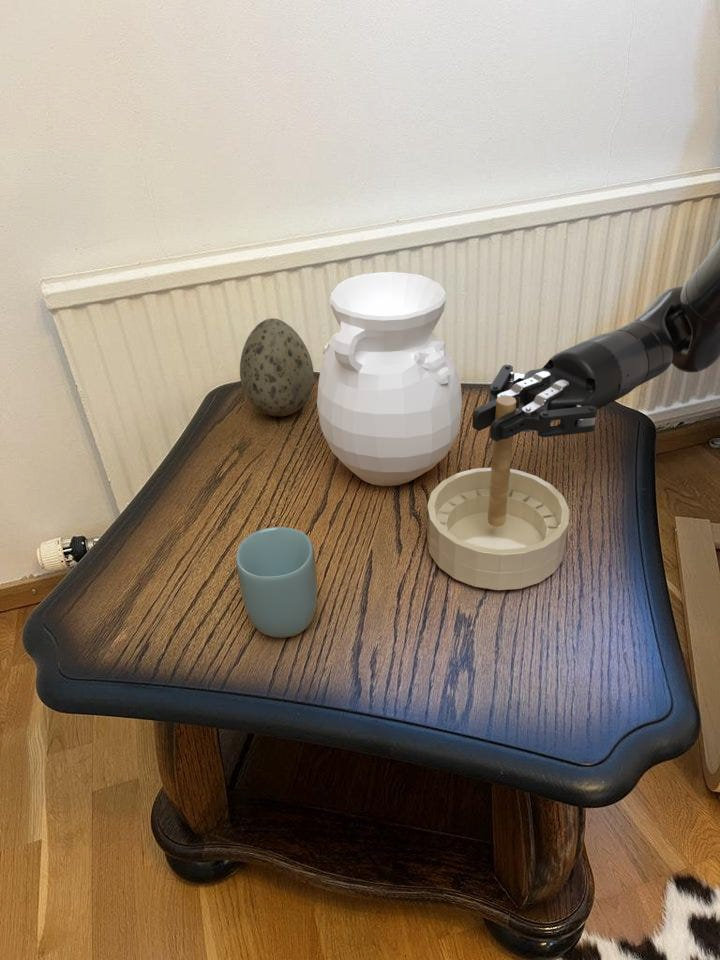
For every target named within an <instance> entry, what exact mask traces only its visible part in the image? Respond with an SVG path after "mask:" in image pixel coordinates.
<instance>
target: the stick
mask: <svg viewBox="0 0 720 960" xmlns="http://www.w3.org/2000/svg"><path fill="white" fill-rule="evenodd" d="M514 410H516V399H515V398H514V397H512V396H506V395H505V396H500V397H498V398H497V400H496V412H495V420H496V419H498V418H500V417H502V416H504V415H506V414H508V413H510V412H513V411H514ZM492 440H493V439H492ZM492 442H493V443H492V455H491V466H490V467H491V481H490V494H489V508H488V523H489V524H490V525H492V526H496V527H498V526H502V525H504V524H505V520H506V509H507V498H508V487H509V476H510V469H511V463H512V453H513V443H514V436H511V437H510V438H508V439H504V440H500V441H497V442H496V441H494V440H493V441H492Z"/></svg>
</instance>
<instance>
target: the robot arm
mask: <svg viewBox="0 0 720 960" xmlns="http://www.w3.org/2000/svg"><path fill="white" fill-rule="evenodd" d="M719 359H720V237H719V239H718V240H717V241H716V243H715V245H714V246H713V248H712V249H711V250H710V252H709V253H708V254H707V255H706V257H705V258H704V259H703V261H702V262H701V263H700V264H699V265H698V267H697V268H696V269H695V270H694V272H693V273H692V274H691V276H690V277H689V278H688V279H687V280H686V282H685V283H684V285H683V286H682V285H679V286H672V287H671V288H668V289H666V290H664V291H662V292H661V293H660V294H658V295H657V296H656V297H655V298H654V299H653V300H652V301H651V302H650V303H649V304H648V306H647V307H646V308H645V309H644V310H643V311H642V313H641V314H639V316H637V318H635V319H634V320H632V321H629V323H627V324H625V325H623V326H620V327H618V328H616V329H614V330H611V331H609V332H605V333H601V334H598V335H595V336H593V337H590V338H588V339H587V340H584V341H581V342H580V343H579V342H578V343H577V344H575V345H573V346H570V347H569V348H566V349H564V350H562V351H559V352H557V353H555V354H554V355H552V356H551V358H549V360H548V361H547V363H545V364H544V365H543V366H542V368H537V369H531V370H528V371H526V373H519V372H514V366H512V365H511V364H503V365H502V367H500V370H499V371H498V373H497V374H496V376H495V378H494V379H493V381H492V382H491V384H490V386H489V393H488V402H486V403H484V404H483V405H480V406H478V407H476V408H474V410H473V413H472V422H471V423H472V424H471V427H472V429H474V430H475V431H477V432H481V431H482V430H485V429H486V428H489V427H490V430H489V438H490V439H491V440H494V441H496V442H497V441H500V440H504V439H508V438H510V437H511V436H513V437H514V436H516V435H518V434H520V433H522V432H523V433H530V432H532V431H535V432H537V433H536V434H537V436H538V437H541V438H551V437H558V436H567V435H579V434H584V433H586V434H587V433H591V432H594V431H595V428H596V424H597V423H596V422H597V414H598V410H600V409H602V408H604V407H606V406H608V405H610V404H612V403H613V402H615V401H617V400H619V399H621V398H624V397H625V396H626V395H628V394H629V393H631V392H632V391H634V390H635V389H636V388H637V387H639V386H642V385H643V384H645V383H647V382H649V381H651V380H653V379H655V378H657V377H659V376H660V375H662V374H663V373H664V372H666V371H667V370H668V369H669V368H670V367H671V365H672V366H673V367H674V368H676V370H679V371H681V372H684V373H690V374H691V373H692V374H694V373H699V372H703V371H705V370H706V369H708V368H710V367H711V366H713V365H714V364H716V363H717V362H718V360H719ZM505 395H506V396H512V397H514V398H515V399H516V410H514V411H513V412H510V413H508V414H506V415H504V416H502V417H500V418H498V419H496V420H495V412H496V400H497V398H498V397H500V396H505ZM558 420H559V424H557V425H551V423H553V422H554V421H558Z"/></svg>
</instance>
